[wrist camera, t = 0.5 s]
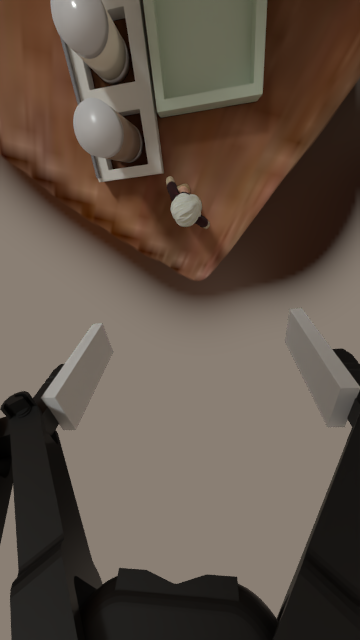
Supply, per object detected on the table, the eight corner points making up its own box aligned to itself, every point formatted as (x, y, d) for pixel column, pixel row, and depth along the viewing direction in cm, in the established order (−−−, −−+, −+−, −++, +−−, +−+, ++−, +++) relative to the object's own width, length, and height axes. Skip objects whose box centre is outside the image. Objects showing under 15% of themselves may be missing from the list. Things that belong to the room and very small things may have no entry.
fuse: (87, 35, 26) (42, -23, 19) (124, 26, 26) (93, -37, 18) (99, 87, 29) (62, 55, 21) (133, 81, 28) (108, 45, 20)
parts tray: (142, -36, 23) (135, -62, 21) (264, -68, 22) (272, -100, 19) (160, 117, 30) (157, 112, 27) (256, 101, 28) (262, 93, 26)
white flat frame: (63, 15, 26) (50, 0, 23) (141, -4, 25) (135, -22, 22) (104, 181, 34) (97, 182, 32) (164, 173, 33) (161, 173, 31)
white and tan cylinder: (107, 125, 30) (66, 102, 21) (139, 119, 30) (112, 93, 21) (116, 164, 33) (82, 160, 23) (146, 160, 32) (124, 153, 23)
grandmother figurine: (160, 197, 34) (142, 206, 24) (174, 172, 33) (162, 169, 22) (201, 228, 36) (202, 250, 26) (217, 206, 35) (224, 219, 24)
